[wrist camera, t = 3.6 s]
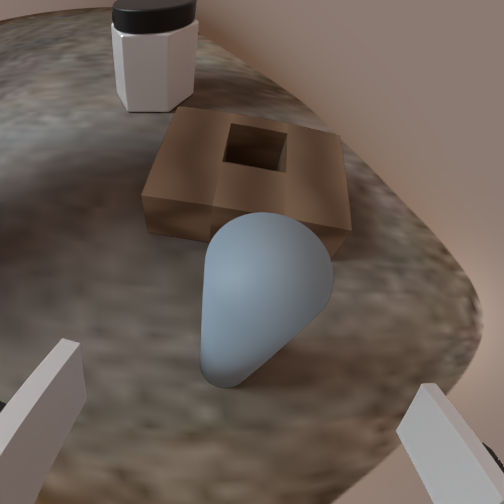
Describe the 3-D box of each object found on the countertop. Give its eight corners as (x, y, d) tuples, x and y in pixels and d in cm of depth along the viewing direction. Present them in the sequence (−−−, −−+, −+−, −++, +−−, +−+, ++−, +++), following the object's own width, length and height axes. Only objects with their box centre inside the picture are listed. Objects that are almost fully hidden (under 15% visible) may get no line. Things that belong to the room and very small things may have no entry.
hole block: (148, 232, 24) (141, 195, 20) (178, 144, 29) (178, 106, 25) (328, 261, 25) (352, 230, 21) (324, 170, 30) (340, 135, 26)
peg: (196, 384, 19) (194, 319, 7) (203, 336, 21) (215, 203, 8) (247, 390, 19) (334, 337, 7) (252, 343, 21) (331, 223, 9)
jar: (153, 69, 35) (154, -14, 25) (205, 86, 34) (215, -6, 24) (102, 103, 31) (91, 8, 20) (156, 124, 30) (154, 15, 19)
